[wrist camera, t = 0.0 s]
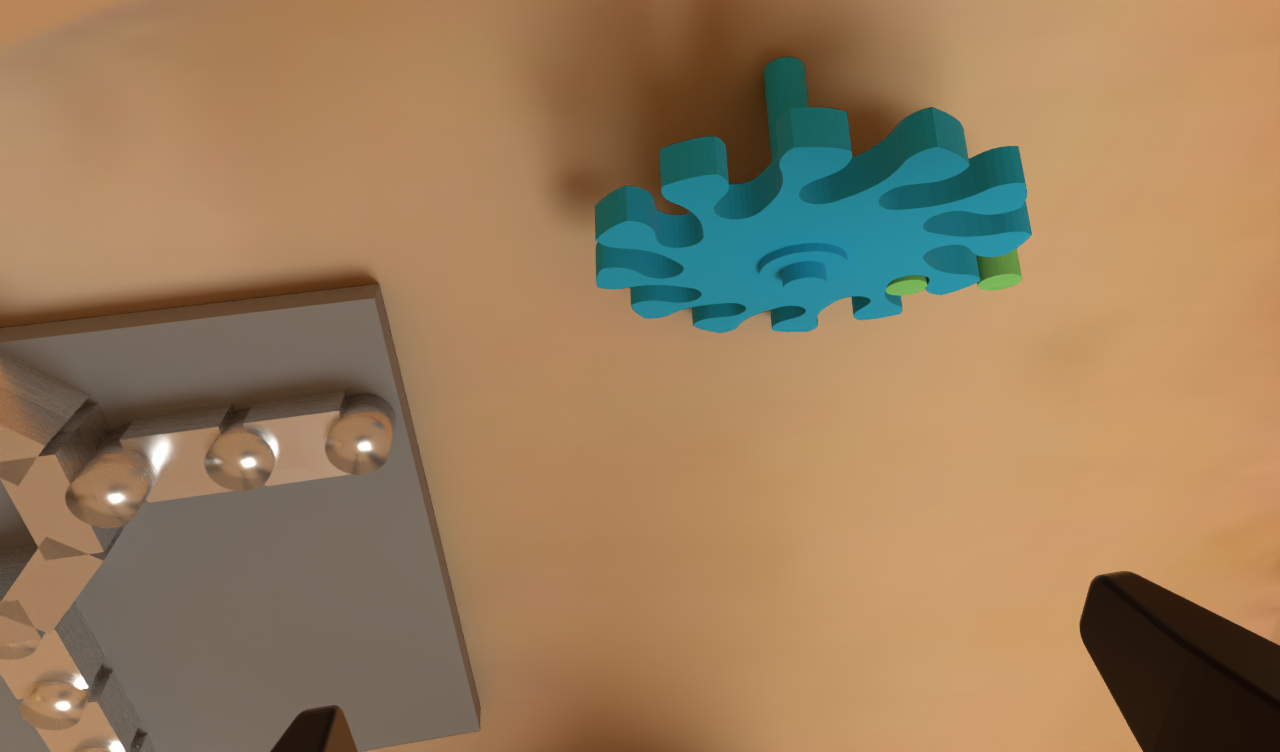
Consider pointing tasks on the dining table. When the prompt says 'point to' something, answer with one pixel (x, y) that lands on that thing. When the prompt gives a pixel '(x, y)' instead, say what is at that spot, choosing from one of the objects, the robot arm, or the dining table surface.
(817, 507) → the dining table surface
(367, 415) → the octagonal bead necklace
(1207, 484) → the dining table surface
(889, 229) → the gear
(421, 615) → the grey base plate
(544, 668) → the dining table surface
